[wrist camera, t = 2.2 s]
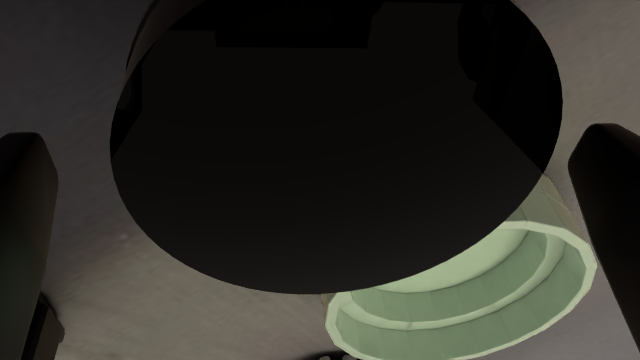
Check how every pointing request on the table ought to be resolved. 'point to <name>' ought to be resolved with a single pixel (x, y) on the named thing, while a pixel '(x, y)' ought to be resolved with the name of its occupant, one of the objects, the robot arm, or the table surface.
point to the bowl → (473, 291)
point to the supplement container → (330, 134)
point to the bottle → (346, 359)
